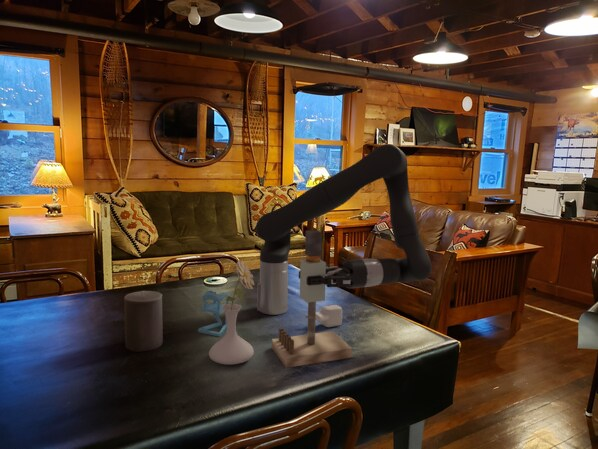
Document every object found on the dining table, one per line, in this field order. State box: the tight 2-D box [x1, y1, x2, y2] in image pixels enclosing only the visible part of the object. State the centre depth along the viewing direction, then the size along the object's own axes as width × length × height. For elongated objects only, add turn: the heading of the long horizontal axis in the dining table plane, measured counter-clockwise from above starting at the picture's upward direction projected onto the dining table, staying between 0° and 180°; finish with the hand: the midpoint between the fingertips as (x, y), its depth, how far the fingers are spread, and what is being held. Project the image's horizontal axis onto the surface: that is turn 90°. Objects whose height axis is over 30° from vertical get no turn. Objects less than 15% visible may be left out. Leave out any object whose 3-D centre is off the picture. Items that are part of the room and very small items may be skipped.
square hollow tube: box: [299, 258, 327, 303], centre depth 115 cm, size 5×5×10 cm
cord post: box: [271, 229, 353, 369], centre depth 116 cm, size 18×12×32 cm, turn 111°
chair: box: [197, 290, 232, 338], centre depth 132 cm, size 8×8×12 cm
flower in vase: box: [208, 260, 255, 365], centre depth 113 cm, size 13×11×25 cm
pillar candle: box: [123, 290, 164, 353], centre depth 120 cm, size 10×10×15 cm
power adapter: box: [305, 304, 343, 328], centre depth 136 cm, size 11×5×6 cm, turn 116°
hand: (303, 278), depth 114 cm, fingers closed on square hollow tube, 5 cm apart
